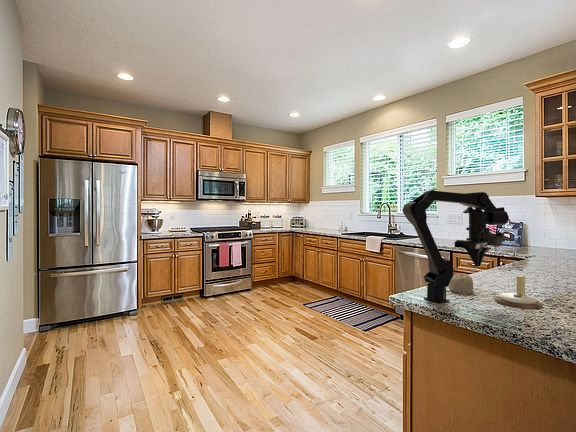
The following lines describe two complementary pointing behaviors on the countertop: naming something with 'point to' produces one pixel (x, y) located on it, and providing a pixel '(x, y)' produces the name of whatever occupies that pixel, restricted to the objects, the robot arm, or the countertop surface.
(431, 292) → the robot arm
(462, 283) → the sponge
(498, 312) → the countertop surface
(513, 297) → the dial
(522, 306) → the base
